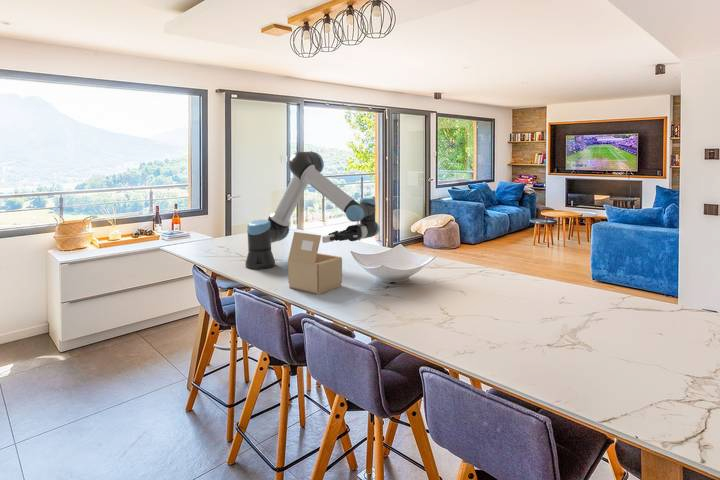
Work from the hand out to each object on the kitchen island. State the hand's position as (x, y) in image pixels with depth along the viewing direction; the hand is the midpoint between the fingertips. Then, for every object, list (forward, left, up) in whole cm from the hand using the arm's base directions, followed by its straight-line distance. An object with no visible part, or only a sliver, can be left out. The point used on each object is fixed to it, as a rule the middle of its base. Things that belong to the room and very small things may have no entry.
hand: (323, 239), depth 207 cm
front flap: (0, -14, -7) cm, 16 cm away
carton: (0, -6, -20) cm, 21 cm away
